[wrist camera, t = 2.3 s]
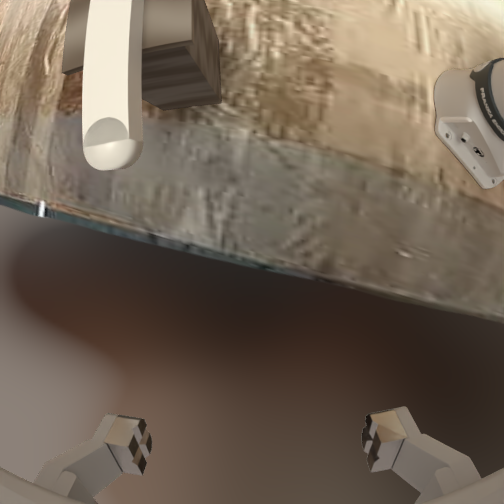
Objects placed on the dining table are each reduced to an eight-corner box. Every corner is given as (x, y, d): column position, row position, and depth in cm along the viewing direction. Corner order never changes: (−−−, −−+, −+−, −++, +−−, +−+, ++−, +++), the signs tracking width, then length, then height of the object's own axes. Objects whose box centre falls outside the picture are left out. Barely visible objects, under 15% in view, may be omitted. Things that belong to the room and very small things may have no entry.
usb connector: (144, 165, 20) (130, 166, 18) (101, 172, 21) (84, 173, 18) (151, -63, 15) (142, -78, 12) (114, -52, 15) (104, -65, 12)
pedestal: (228, 105, 43) (191, 39, 18) (157, 114, 44) (61, 72, 18) (224, 36, 40) (193, -66, 15) (156, 46, 40) (77, -32, 15)
